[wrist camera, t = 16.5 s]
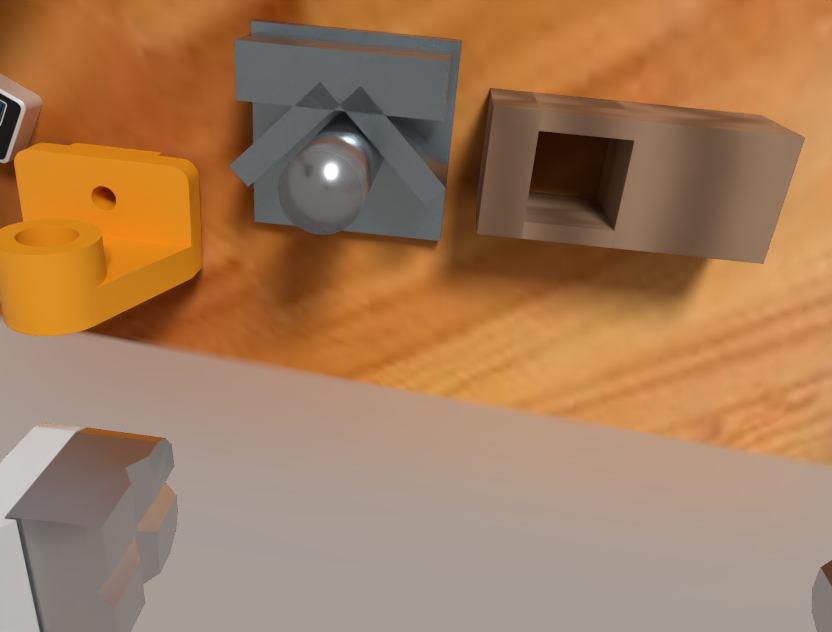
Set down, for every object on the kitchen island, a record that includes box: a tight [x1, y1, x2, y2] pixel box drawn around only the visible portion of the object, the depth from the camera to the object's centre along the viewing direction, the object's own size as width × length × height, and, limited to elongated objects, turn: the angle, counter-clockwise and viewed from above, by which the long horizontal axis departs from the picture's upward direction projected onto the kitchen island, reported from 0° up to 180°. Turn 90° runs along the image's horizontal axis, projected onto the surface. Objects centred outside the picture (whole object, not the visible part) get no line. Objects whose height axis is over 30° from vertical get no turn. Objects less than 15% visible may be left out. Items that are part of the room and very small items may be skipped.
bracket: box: [0, 143, 202, 336], centre depth 42 cm, size 11×7×12 cm, turn 84°
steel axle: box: [278, 113, 384, 235], centre depth 38 cm, size 4×4×11 cm
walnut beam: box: [476, 88, 805, 264], centre depth 41 cm, size 16×7×6 cm, turn 85°
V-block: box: [229, 20, 462, 241], centre depth 41 cm, size 12×12×6 cm
